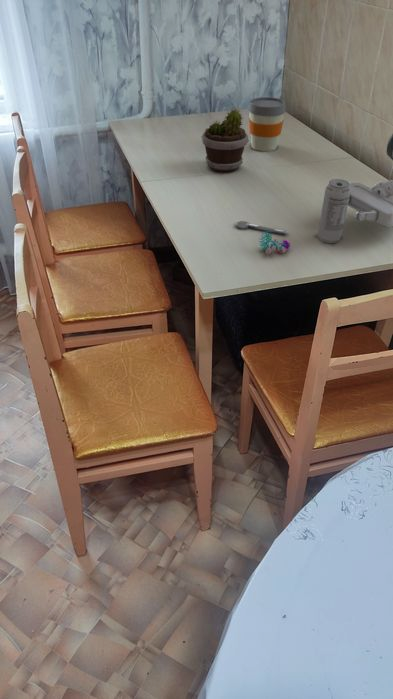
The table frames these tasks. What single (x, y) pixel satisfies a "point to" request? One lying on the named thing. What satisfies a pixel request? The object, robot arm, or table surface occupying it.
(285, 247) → the anatomy model
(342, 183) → the energy drink can
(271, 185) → the table surface
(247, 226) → the grey flat-headed rod tool
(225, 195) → the table surface
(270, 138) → the reusable coffee cup
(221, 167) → the flowerpot
